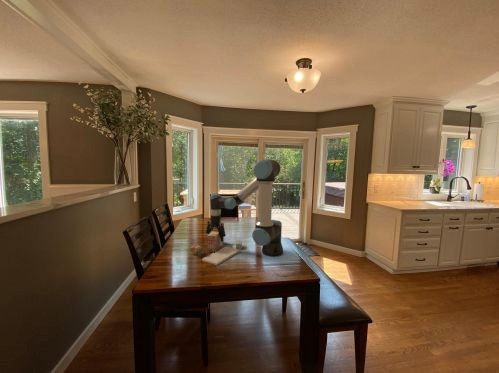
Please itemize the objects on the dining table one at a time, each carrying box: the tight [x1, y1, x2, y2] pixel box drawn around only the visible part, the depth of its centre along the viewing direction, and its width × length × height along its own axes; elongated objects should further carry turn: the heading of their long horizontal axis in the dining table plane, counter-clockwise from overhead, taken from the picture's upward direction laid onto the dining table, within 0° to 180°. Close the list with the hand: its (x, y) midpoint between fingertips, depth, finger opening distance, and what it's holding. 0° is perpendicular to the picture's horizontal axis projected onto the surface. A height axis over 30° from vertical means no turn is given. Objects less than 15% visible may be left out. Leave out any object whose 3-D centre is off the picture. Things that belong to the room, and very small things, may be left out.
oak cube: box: [189, 244, 201, 256], centre depth 157 cm, size 5×5×5 cm
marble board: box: [201, 246, 241, 266], centre depth 154 cm, size 12×26×1 cm, turn 149°
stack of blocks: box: [206, 229, 225, 253], centre depth 169 cm, size 21×6×12 cm, turn 172°
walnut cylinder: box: [198, 245, 206, 259], centre depth 152 cm, size 4×4×6 cm
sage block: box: [235, 240, 243, 250], centre depth 169 cm, size 4×7×4 cm, turn 179°
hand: (215, 244), depth 169 cm, fingers open, 9 cm apart
